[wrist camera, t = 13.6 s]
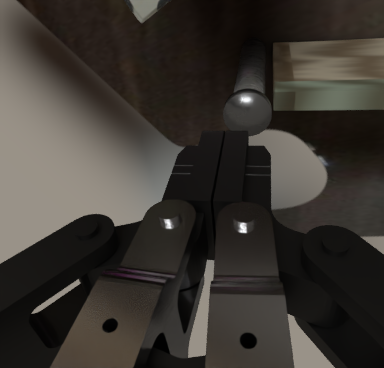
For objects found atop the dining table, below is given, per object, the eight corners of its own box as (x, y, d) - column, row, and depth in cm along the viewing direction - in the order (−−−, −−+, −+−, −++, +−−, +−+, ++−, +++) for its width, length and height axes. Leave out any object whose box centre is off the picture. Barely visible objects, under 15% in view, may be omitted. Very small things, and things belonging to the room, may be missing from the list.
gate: (272, 58, 38) (273, 111, 28) (273, 41, 37) (274, 90, 27) (442, 52, 35) (507, 109, 25) (449, 33, 34) (519, 85, 24)
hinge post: (237, 67, 39) (224, 136, 28) (236, 33, 37) (222, 93, 26) (270, 66, 39) (270, 136, 27) (271, 31, 36) (272, 92, 25)
